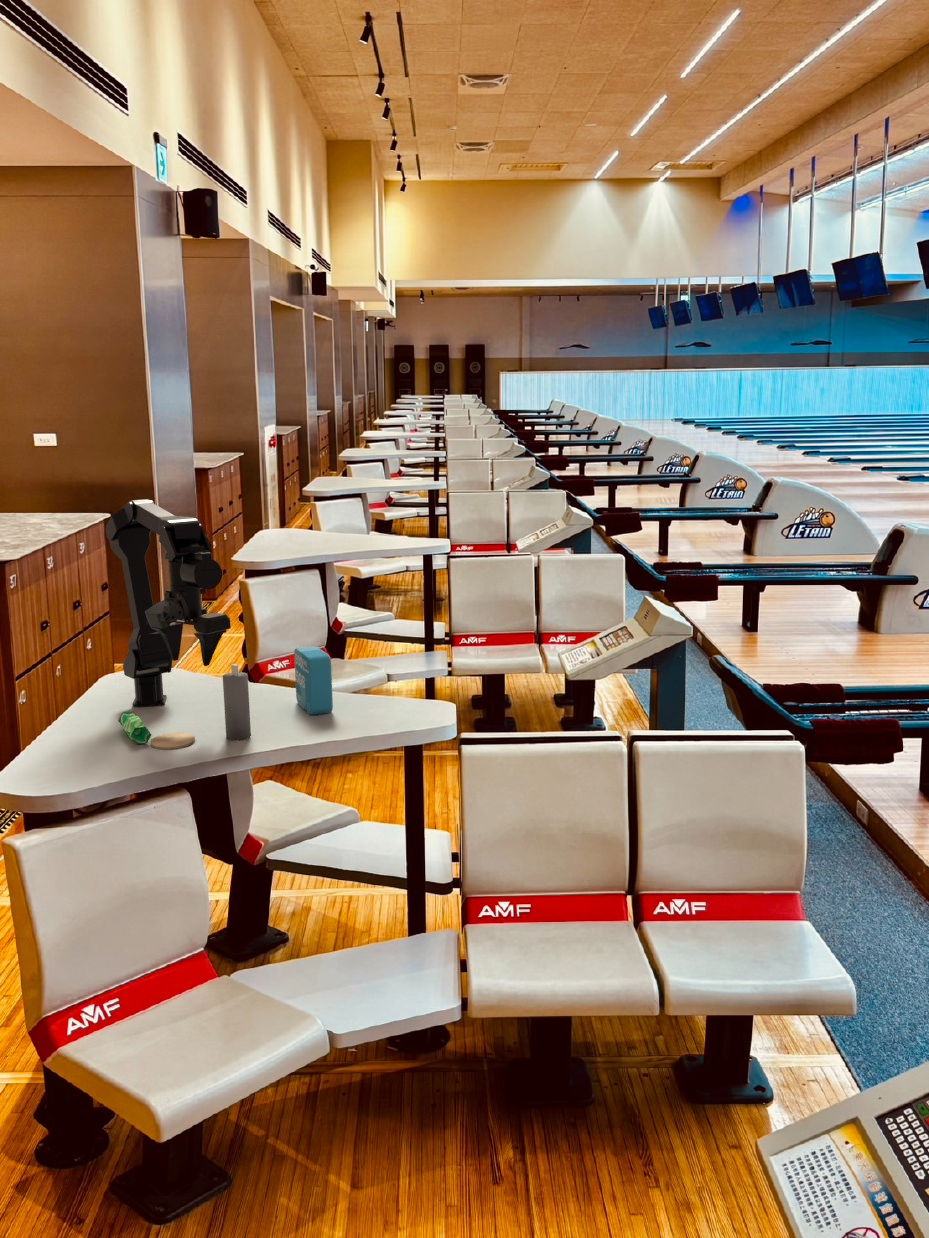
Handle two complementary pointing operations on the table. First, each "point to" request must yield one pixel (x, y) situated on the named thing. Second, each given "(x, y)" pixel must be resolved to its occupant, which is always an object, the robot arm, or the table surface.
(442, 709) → the table surface
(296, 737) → the table surface
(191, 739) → the cork coaster
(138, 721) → the candy
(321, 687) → the data package
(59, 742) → the table surface
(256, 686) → the table surface
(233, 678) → the charcoal plug
